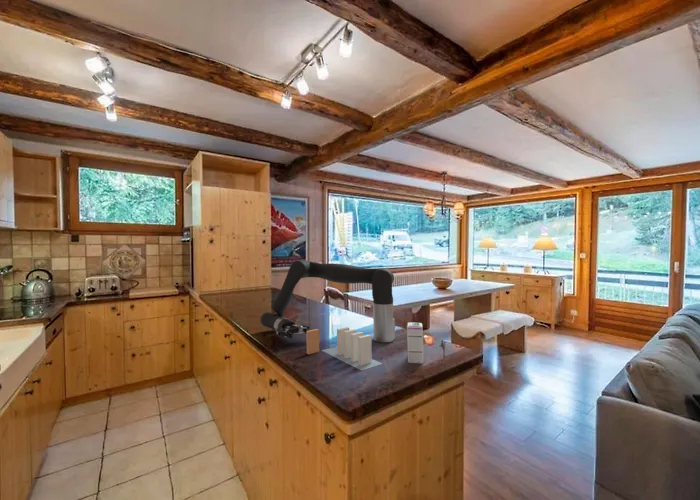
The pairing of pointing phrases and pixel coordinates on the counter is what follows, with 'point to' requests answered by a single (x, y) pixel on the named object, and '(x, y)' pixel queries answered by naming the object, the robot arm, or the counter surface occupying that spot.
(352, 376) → the counter surface
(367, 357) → the domino
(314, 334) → the domino
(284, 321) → the robot arm
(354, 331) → the domino
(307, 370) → the counter surface
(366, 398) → the counter surface
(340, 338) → the domino
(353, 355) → the domino
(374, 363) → the board
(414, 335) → the syrup box
